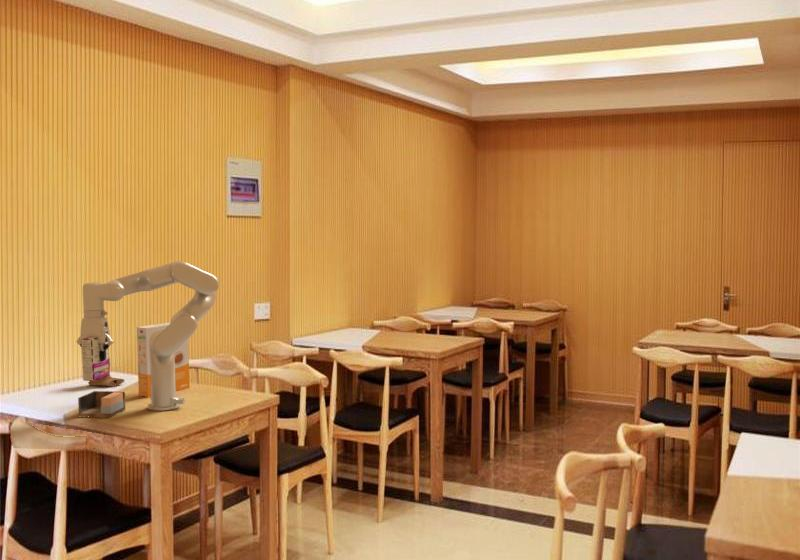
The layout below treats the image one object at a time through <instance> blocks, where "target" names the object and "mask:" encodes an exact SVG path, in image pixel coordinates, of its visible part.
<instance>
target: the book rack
mask: <svg viewBox="0 0 800 560" xmlns="http://www.w3.org/2000/svg"><path fill="white" fill-rule="evenodd" d="M77 401H78V403H77V404H78V413H77V417H78V416H81V417H80V418H83V417H82V416H85V417H84V418H91V417H111V418H113V417H115V416H116V415H115V414H117V413H119V412H121V411H123V410H125V411H126V392H125V391H118V390H117V391H114V390H113V391H109V390H108V391H105V390H93V391H91V392H89V393H86V394H84V395H82V396H80V397H78V399H77ZM123 412H124V411H123ZM121 413H122V412H121ZM119 414H120V413H119ZM114 415H115V416H114ZM117 415H118V414H117ZM88 416H89V417H88ZM112 416H113V417H112Z"/></svg>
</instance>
